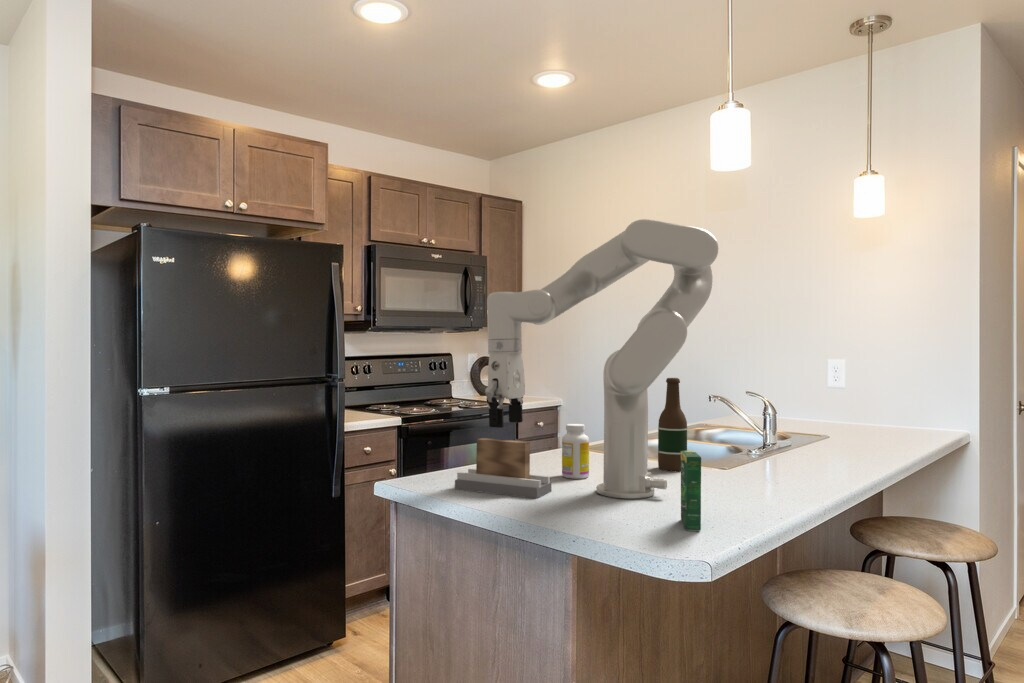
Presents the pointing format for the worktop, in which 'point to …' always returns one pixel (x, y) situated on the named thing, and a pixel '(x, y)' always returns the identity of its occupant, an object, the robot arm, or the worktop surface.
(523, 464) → the door panel
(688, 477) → the coffee box
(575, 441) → the supplement bottle
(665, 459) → the beer bottle
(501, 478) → the rail
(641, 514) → the worktop surface
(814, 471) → the worktop surface
